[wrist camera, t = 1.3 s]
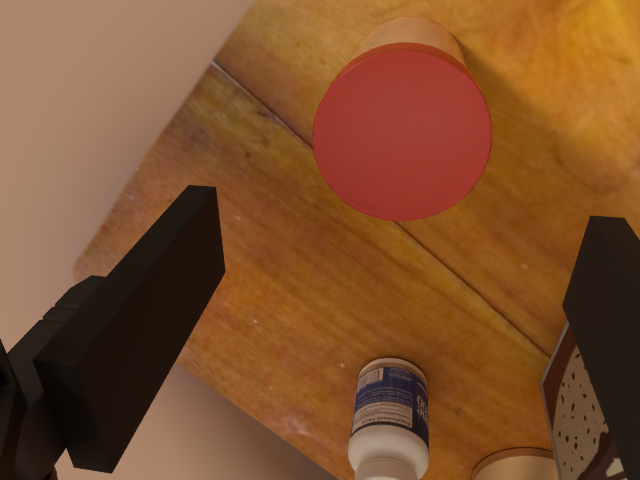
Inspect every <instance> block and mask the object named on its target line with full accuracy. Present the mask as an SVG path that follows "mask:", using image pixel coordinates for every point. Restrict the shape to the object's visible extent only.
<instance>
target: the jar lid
mask: <svg viewBox="0 0 640 480" xmlns="http://www.w3.org/2000/svg"><path fill="white" fill-rule="evenodd" d="M312 136H313V150H314V155H315V159H316V162H317V165H318V168H319V170H320V172H321V174H322V176H323V178H324V180H325V181H326V183H327V184H328V186H329V187H330V188H331V189H332V191H333V192H334V193H335V194H336V195H337V196H338V197H339V198H340V199H341V200H343V201H344V202H345V203H346V204H348V205H349V206H351V207H352V208H354V209H356V210H358V211H360V212H361V213H364V214H366V215H369V216H372V217H375V218H379V219H383V220H390V221H411V220H418V219H423V218H427V217H430V216H433V215H436V214H438V213H440V212H442V211H444V210H446V209H448V208H449V207H451V206H453V205H454V204H456V203H457V202H458V201H460V200H461V199H462V198H463V197H464V196H465V195H466V194H467V193H468V192H469V191H470V190H471V189H472V188H473V187H474V185H475V184H476V183H477V181H478V180H479V178H480V177H481V175H482V173H483V171H484V169H485V167H486V164H487V162H488V159H489V155H490V152H491V146H492V123H491V117H490V113H489V110H488V107H487V104H486V101H485V98H484V96H483V93H482V91H481V89H480V87H479V85H478V83H477V81H476V79H475V78H474V77H473V75H472V74H471V72H470V71H469V70H468V69H467V68H466V67H465V66H464V65H463V64H462V63H461V62H460V61H458V60H457V59H456V58H455V57H453V56H452V55H450V54H448V53H446V52H445V51H443V50H440V49H438V48H435V47H433V46H429V45H425V44H421V43H412V42H398V43H391V44H385V45H382V46H379V47H376V48H373V49H371V50H369V51H366V52H364V53H362V54H361V55H359V56H358V57H356V58H355V59H353V60H352V61H351V62H349V63H348V64H347V65H346V66H345V67H344V68H343V69H342V70H341V71H340V72H339V73H338V74H337V76H336V77H335V79H334V80H333V81H332V83H331V84H330V86H329V88H328V90H327V91H326V93H325V95H324V97H323V99H322V101H321V103H320V105H319V107H318V110H317V113H316V116H315V121H314V126H313V133H312Z"/></svg>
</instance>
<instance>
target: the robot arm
mask: <svg viewBox="0 0 640 480" xmlns="http://www.w3.org/2000/svg"><path fill="white" fill-rule="evenodd" d="M224 274H225V263H224V254H223V245H222V236H221V228H220V219H219V210H218V201H217V192H216V187H209V186H195V185H188V186H187V187H186V188H185V190H184V191H183V192H182V193H181V194H180V195H179V196H178V197H177V198H176V200H175V201H174V202H173V203H172V204H171V205H170V206H169V207H168V209H167V210H166V211H165V212H164V213H163V214H162V215H161V216H160V217H159V219H158V220H157V221H156V222H155V223H154V224H153V225H152V226H151V227H150V229H149V230H148V231H147V232H146V233H145V234H144V235H143V236H142V238H141V239H140V240H139V241H138V242H137V243H136V244H135V245H134V246H133V248H132V249H131V250H130V251H129V252H128V253H127V254H126V255H125V257H124V258H123V259H122V260H121V261H120V262H119V263H118V264H117V265H116V267H115V268H114V269H113V270H112V271H111V272H110V273H109V274H108V275H107V277H102V276H93V275H92V276H90V277H88V278H87V279H85V280H83V281H82V282H80V283H78V284H76V285H75V286H73V287H71V288H70V289H69V290H68V291H67V292H66V293H65V294H64V295H63V296H62V297H61V298H60V299H59V300H58V301H57V302H56V304H55V307H52V308H51V309H50V310H49V311H48V312H47V313H46V314H45V315H44V316H43V319H42V320H39V321H38V322H37V323H36V324H35V325H34V326H33V327H32V328H31V329H30V330H29V331H28V332H27V333H26V335H24V337H23V338H22V339H21V340H20V341H19V342H18V343H17V344H16V345H15V346H14V347H13V348H12V349H11V350H10V351H9V352H8V353H6V351H5V349H4V346H3V344H2V341H1V339H0V480H58V479H57V471H56V469H55V467H54V465H55V463H56V462H57V460H58V459H59V457H60V456H61V455H62V453H63V452H64V450H65V449H66V448H67V451H68V453H69V456H70V458H71V461H72V463H73V466H74V468H80V469H87V470H93V471H99V472H105V473H112V472H113V471H114V469H115V467H116V466H117V464H118V462H119V460H120V458H121V457H122V455H123V453H124V451H125V449H126V448H127V446H128V444H129V442H130V441H131V439H132V437H133V435H134V434H135V432H136V430H137V428H138V426H139V425H140V423H141V421H142V419H143V417H144V415H145V414H146V412H147V411H148V409H149V407H150V405H151V403H152V402H153V400H154V398H155V396H156V394H157V392H158V391H159V389H160V387H161V386H162V384H163V382H164V380H165V378H166V377H167V375H168V373H169V371H170V370H171V368H172V366H173V364H174V363H175V361H176V359H177V357H178V356H179V354H180V352H181V350H182V348H183V347H184V345H185V343H186V341H187V340H188V338H189V336H190V334H191V332H192V331H193V329H194V327H195V325H196V324H197V322H198V320H199V318H200V316H201V315H202V313H203V311H204V309H205V308H206V306H207V304H208V302H209V301H210V299H211V297H212V295H213V293H214V292H215V290H216V288H217V286H218V285H219V283H220V281H221V279H222V277H223V276H224ZM562 306H563V309H564V312H565V314H566V317H567V320H568V322H569V325H570V328H571V330H572V333H573V336H574V339H575V341H576V344H577V347H578V349H579V352H580V355H581V357H582V360H583V363H584V365H585V368H586V371H587V373H588V376H589V379H590V381H591V384H592V387H593V389H594V392H595V395H596V397H597V400H598V403H599V405H600V408H601V411H602V413H603V416H604V419H605V421H606V424H607V427H608V429H609V432H610V435H611V438H612V440H613V443H614V446H615V448H616V451H617V454H618V456H619V459H620V462H621V464H622V467H623V470H624V472H625V475H626V478H627V480H640V240H639V239H638V237H637V236H636V234H635V233H634V231H633V230H632V228H631V227H630V226H629V224H628V223H627V221H626V220H625V218H617V217H603V216H590V218H589V221H588V225H587V228H586V231H585V234H584V237H583V241H582V244H581V247H580V250H579V253H578V257H577V260H576V263H575V266H574V269H573V273H572V276H571V279H570V282H569V285H568V289H567V292H566V295H565V298H564V301H563V305H562Z"/></svg>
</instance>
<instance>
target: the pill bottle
mask: <svg viewBox="0 0 640 480" xmlns="http://www.w3.org/2000/svg"><path fill="white" fill-rule="evenodd" d="M428 431H429V429H428V394H427V381H426V379H425V376H424V374H423V373H422V372H421V370H420V369H419V368H417V367H416V366H415V365H413V364H412V363H410V362H407V361H405V360H401V359H397V358H382V359H377V360H374V361H372V362H370V363H369V364H367V365H366V366H365V367H364V368H363V369H362V370H361V372H360V374H359V377H358V381H357V389H356V396H355V403H354V411H353V418H352V425H351V432H350V439H349V447H348V458H349V461H350V464H351V466H352V468H353V469H354V471H355V475H354V480H419V479H420V478H421V477H422V476H423V475H424V473H425V472H426V470H427V467H428V463H429V433H428Z"/></svg>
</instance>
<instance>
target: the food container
mask: <svg viewBox="0 0 640 480" xmlns="http://www.w3.org/2000/svg"><path fill="white" fill-rule="evenodd" d="M539 384H540V389H541V394H542V399H543V404H544V409H545V414H546V419H547V424H548V429H549V434H550V439H551V444H552V449H553V454H554V459H555V464H556V469H557V474H558V479H559V480H627V478H626V475H625V472H624V470H623V467H622V464H621V462H620V459H619V456H618V454H617V451H616V448H615V446H614V443H613V440H612V438H611V435H610V432H609V429H608V427H607V424H606V421H605V419H604V416H603V413H602V411H601V408H600V405H599V403H598V400H597V397H596V395H595V392H594V389H593V387H592V384H591V381H590V379H589V376H588V373H587V371H586V368H585V365H584V363H583V360H582V357H581V355H580V352H579V349H578V347H577V344H576V341H575V339H574V336H573V333H572V330H571V328H570V325H569V322H568V320H567V321H566V323H565V326H564V328H563V330H562V333H561V335H560V337H559V340H558V342H557V344H556V346H555V349H554V351H553V353H552V356H551V358H550V360H549V363H548V365H547V367H546V369H545V372H544V374H543V376H542V379H541V381H540V383H539Z"/></svg>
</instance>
